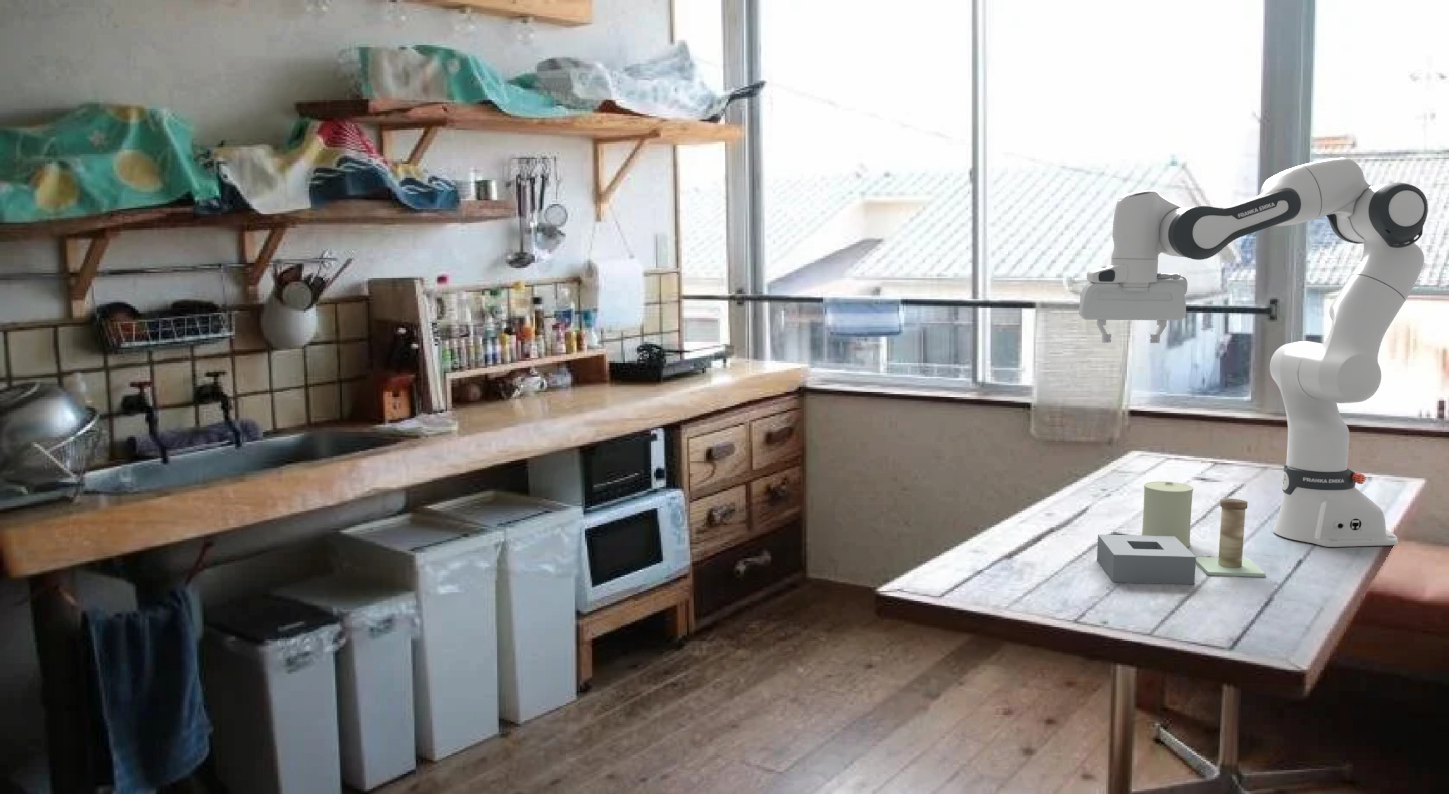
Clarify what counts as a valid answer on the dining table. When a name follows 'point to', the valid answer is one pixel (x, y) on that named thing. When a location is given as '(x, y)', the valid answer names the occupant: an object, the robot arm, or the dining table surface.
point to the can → (1167, 510)
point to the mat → (1213, 568)
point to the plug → (1232, 532)
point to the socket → (1146, 559)
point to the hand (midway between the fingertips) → (1130, 342)
